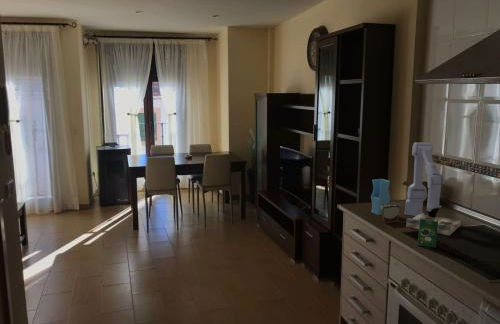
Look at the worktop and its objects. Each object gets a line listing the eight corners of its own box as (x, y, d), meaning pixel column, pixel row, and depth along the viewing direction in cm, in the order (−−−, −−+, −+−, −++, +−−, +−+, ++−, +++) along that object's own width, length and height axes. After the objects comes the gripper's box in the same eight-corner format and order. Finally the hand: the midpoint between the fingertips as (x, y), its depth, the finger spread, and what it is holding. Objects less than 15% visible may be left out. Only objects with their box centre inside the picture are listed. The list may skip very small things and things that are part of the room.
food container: (392, 218, 243) (393, 201, 241) (399, 221, 237) (400, 204, 235) (374, 220, 238) (375, 203, 237) (381, 223, 233) (382, 206, 231)
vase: (370, 211, 256) (371, 179, 253) (380, 210, 259) (382, 178, 256) (378, 215, 249) (380, 182, 246) (389, 213, 252) (391, 181, 249)
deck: (406, 226, 227) (406, 218, 226) (419, 217, 244) (420, 210, 243) (449, 235, 213) (450, 227, 212) (460, 225, 230) (461, 217, 229)
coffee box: (436, 246, 198) (438, 219, 196) (436, 248, 195) (438, 221, 193) (417, 244, 201) (419, 217, 199) (417, 246, 198) (419, 219, 196)
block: (424, 224, 223) (425, 217, 222) (427, 223, 226) (427, 215, 225) (432, 226, 220) (433, 218, 219) (434, 224, 223) (435, 217, 222)
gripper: (437, 200, 215) (435, 226, 217) (445, 195, 226) (443, 219, 228) (423, 198, 219) (421, 223, 222) (432, 193, 230) (430, 217, 233)
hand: (431, 221), depth 225 cm, fingers closed
